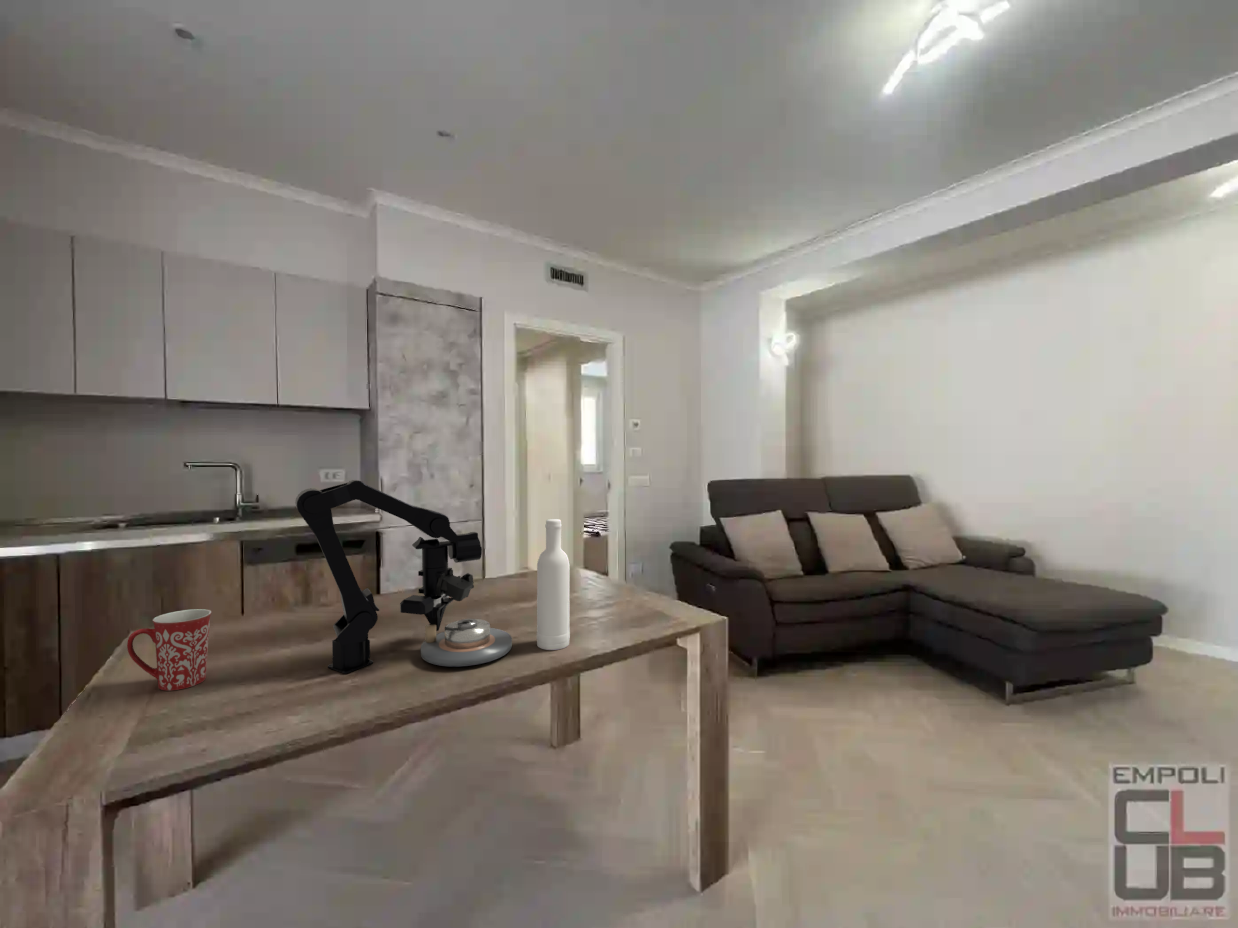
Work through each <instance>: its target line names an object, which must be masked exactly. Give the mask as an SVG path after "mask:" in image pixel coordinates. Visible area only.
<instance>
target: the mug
mask: <svg viewBox="0 0 1238 928" xmlns="http://www.w3.org/2000/svg"><path fill="white" fill-rule="evenodd" d="M211 615H212V610H211V609H204V608H202V609H201V608H199V609H197V608H195V609H194V608H193V609H182V610H177V611H172V612H167V613H163V614H160V615H157V616H156V617H154V618H152V623H153V625H154V628H148V627H147V628H145V627H144V628H139V629H137V630H134V631H133V632H132V633H131V634H130V635H129V637H128V639H127V643H126V645H127V647H126V649H127V653H128V655H129V656H130V658H131V660H132V661H133V662H134V663H136V665H138V666H139V667H140V668H141V669H142V670H143V671H144V672H146V673H148V674H149V675H150V676H152V677H153V678H155V679H156V680H157V687H158V689H159V690H161V691H167V692H169V691H177V690H178V691H179V690H184V689H187V688H191V687H195V686H197V685H199V684H201V683H202V682H204V681H205V680H206V679H207V678H206V677H207V664H208V653H209V652H208V651H209V638H210V622H211V621H210V619H211ZM143 634H145V635H148V636H149V637H150V638H151V640H152V642H153V644H155V657H156V667H152V666H151V665H149V664H147V662H145V661H144V660H142V659H141V658H140V656H139V655H138V654H137V653H136V652H135V650H134V640H135V638H136V637H137V636H139V635H143Z"/></svg>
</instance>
